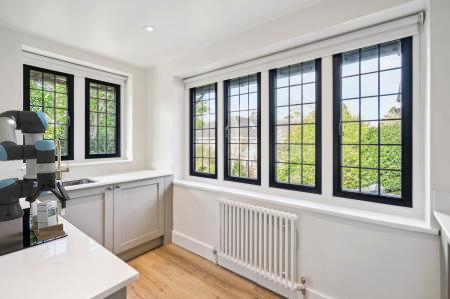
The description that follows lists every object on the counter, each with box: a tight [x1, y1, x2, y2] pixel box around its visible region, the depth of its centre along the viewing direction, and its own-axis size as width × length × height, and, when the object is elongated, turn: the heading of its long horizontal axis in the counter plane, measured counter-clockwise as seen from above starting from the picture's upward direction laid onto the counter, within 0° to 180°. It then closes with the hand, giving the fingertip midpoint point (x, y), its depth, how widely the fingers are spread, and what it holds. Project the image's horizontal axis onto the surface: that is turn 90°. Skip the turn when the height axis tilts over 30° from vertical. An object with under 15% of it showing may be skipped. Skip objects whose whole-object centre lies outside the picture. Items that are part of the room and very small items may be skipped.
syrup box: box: [37, 199, 59, 232], centre depth 114 cm, size 6×6×14 cm
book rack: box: [31, 215, 66, 242], centre depth 117 cm, size 22×10×10 cm, turn 45°
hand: (48, 215), depth 114 cm, fingers open, 13 cm apart
